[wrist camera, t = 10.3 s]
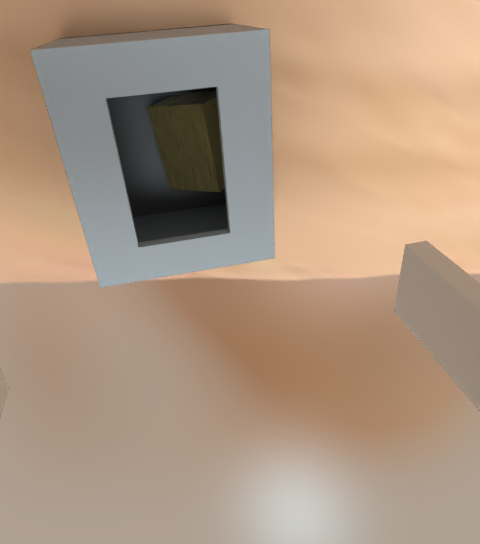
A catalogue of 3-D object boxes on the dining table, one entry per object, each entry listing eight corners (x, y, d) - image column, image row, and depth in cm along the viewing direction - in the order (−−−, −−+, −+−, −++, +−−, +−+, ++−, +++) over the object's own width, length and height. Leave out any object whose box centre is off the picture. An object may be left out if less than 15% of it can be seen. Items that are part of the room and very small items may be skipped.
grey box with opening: (59, 38, 29) (30, 50, 21) (232, 23, 31) (269, 29, 22) (107, 224, 36) (100, 287, 28) (243, 203, 38) (275, 258, 30)
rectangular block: (147, 106, 29) (201, 104, 27) (176, 93, 31) (229, 90, 29) (169, 188, 32) (219, 192, 30) (194, 170, 35) (242, 172, 32)
